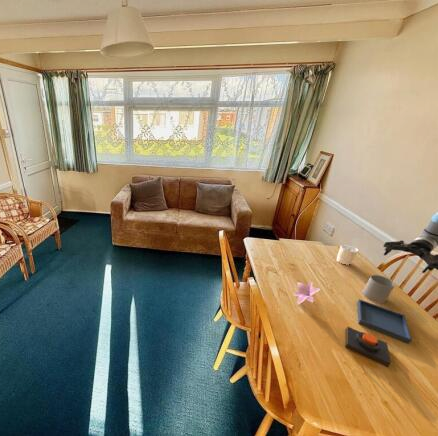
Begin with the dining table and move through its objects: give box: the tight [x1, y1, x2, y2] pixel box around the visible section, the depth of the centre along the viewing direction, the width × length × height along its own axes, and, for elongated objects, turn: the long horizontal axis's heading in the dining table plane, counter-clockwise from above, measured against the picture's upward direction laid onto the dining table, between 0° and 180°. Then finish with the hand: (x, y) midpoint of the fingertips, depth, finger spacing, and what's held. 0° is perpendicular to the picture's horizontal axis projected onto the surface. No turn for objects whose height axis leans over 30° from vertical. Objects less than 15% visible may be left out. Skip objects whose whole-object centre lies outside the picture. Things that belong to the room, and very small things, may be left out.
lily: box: [293, 281, 321, 306], centre depth 109 cm, size 12×12×10 cm
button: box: [362, 332, 378, 346], centre depth 86 cm, size 4×4×2 cm
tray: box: [356, 298, 412, 345], centre depth 98 cm, size 15×15×2 cm
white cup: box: [336, 244, 359, 266], centre depth 136 cm, size 8×8×10 cm
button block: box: [344, 326, 391, 368], centre depth 87 cm, size 12×10×4 cm
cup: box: [362, 274, 395, 304], centre depth 110 cm, size 8×8×10 cm
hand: (404, 261), depth 105 cm, fingers open, 13 cm apart
